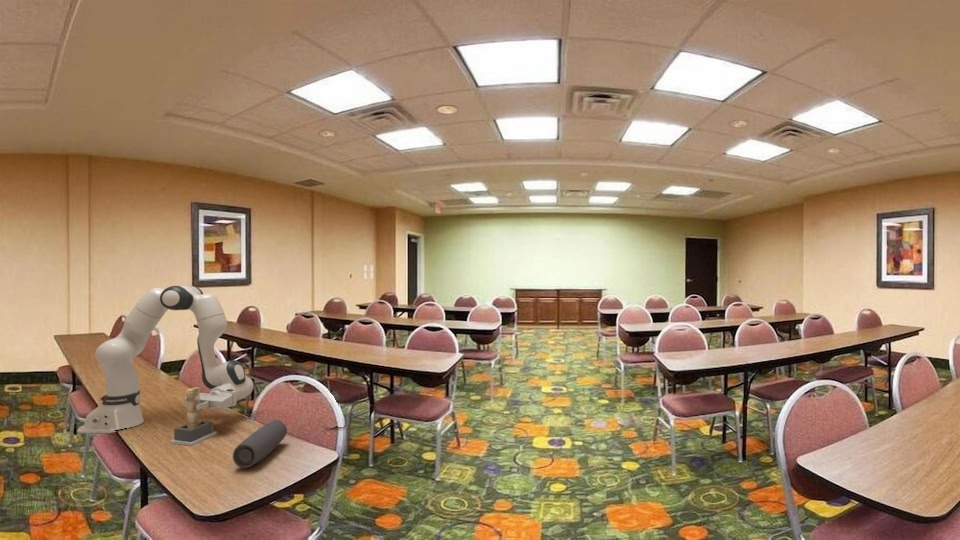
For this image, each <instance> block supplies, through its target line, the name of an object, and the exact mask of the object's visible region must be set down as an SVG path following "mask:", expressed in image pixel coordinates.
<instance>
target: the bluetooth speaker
mask: <svg viewBox="0 0 960 540" xmlns="http://www.w3.org/2000/svg"><path fill="white" fill-rule="evenodd" d="M287 433H288V430H287V426H286V424H285V423H284V422H283V421H282V420H279V419H276V420H272V421H270V422H268V423H266V424H264V425H262V426H261V427H260V428H258V429H257V430H256V431H254V432H253V433H251V434H250V435H249V436H247V437H246V438H245V439H244V440H242V441H241V442H240V443H239V444H238V445H237V447H235V448H234V450H233V453H232V460H233V462H234V464H235V465H236V466H238V467H240V468H245V469H246V468H250V467H252V466H254V465H255V464H258V463H261V462H262V461H264V460H265V458H266V457H267V455H268V454H269V453H270V452H271V453H272V451H273V450H274V449H275V448H276V447H277V446H278V445H279V444H280V443H281V442H282V441H283V440H284V438H285V437H286V435H287ZM271 453H270V454H271ZM270 454H269V455H270ZM269 455H268V456H269Z"/></svg>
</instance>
